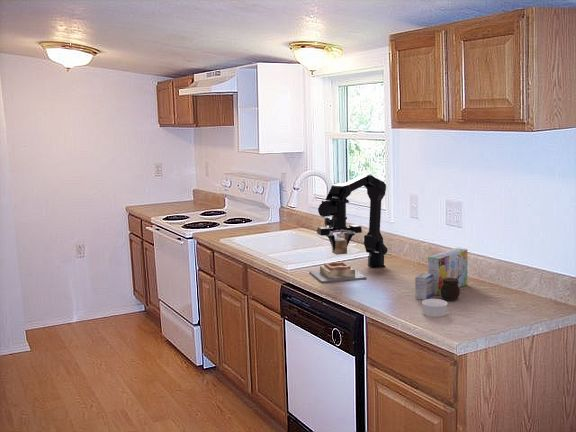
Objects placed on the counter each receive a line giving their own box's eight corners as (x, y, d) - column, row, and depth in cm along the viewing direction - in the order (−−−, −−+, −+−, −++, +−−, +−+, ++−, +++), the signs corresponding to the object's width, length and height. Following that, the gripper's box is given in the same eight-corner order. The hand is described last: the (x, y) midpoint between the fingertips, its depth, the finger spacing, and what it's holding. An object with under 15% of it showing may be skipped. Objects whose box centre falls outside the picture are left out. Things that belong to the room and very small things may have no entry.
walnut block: (343, 251, 285) (342, 238, 284) (347, 253, 280) (347, 240, 279) (332, 252, 284) (332, 238, 283) (336, 254, 279) (336, 241, 278)
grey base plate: (351, 269, 296) (351, 267, 295) (366, 279, 278) (366, 277, 278) (309, 272, 291) (309, 271, 290) (321, 283, 273) (321, 281, 273)
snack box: (455, 282, 270) (456, 247, 268) (467, 285, 266) (468, 249, 264) (426, 293, 256) (427, 256, 253) (439, 296, 252) (440, 258, 249)
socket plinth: (345, 269, 292) (345, 260, 291) (355, 276, 280) (355, 266, 279) (320, 272, 289) (319, 262, 288) (328, 278, 277) (328, 269, 276)
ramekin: (450, 317, 226) (451, 305, 225) (425, 318, 225) (425, 306, 225) (442, 309, 235) (442, 298, 234) (418, 310, 234) (418, 299, 233)
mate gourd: (437, 297, 250) (438, 271, 249) (456, 296, 251) (457, 271, 249) (443, 302, 243) (444, 276, 242) (463, 301, 244) (464, 275, 242)
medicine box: (425, 300, 246) (426, 278, 245) (414, 298, 249) (415, 276, 247) (433, 295, 253) (433, 273, 251) (422, 293, 255) (422, 272, 254)
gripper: (352, 210, 289) (352, 244, 292) (312, 212, 284) (313, 247, 287) (362, 213, 279) (362, 249, 281) (321, 216, 274) (321, 252, 276)
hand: (339, 249), depth 282 cm, fingers closed on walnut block, 5 cm apart
